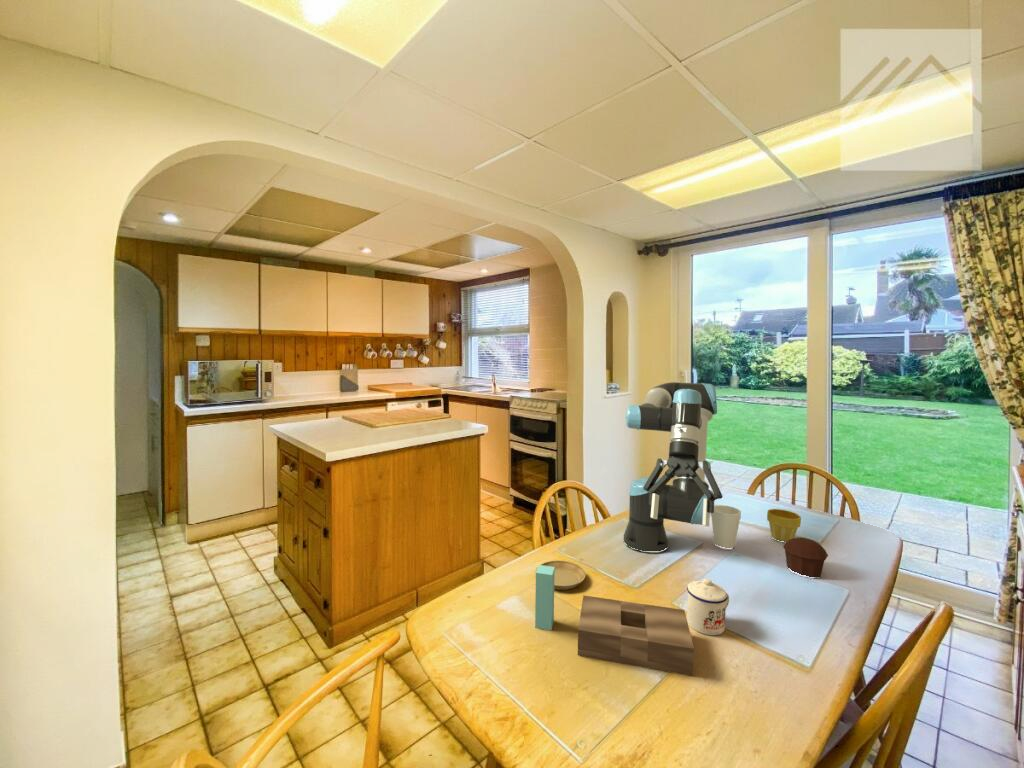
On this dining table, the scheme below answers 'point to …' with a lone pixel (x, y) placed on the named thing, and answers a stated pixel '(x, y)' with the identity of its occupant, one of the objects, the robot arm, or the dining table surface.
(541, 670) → the dining table surface
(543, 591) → the peg
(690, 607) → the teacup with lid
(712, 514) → the foam cup
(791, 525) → the plant pot
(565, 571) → the plant saucer
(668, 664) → the hole board
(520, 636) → the dining table surface
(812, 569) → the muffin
